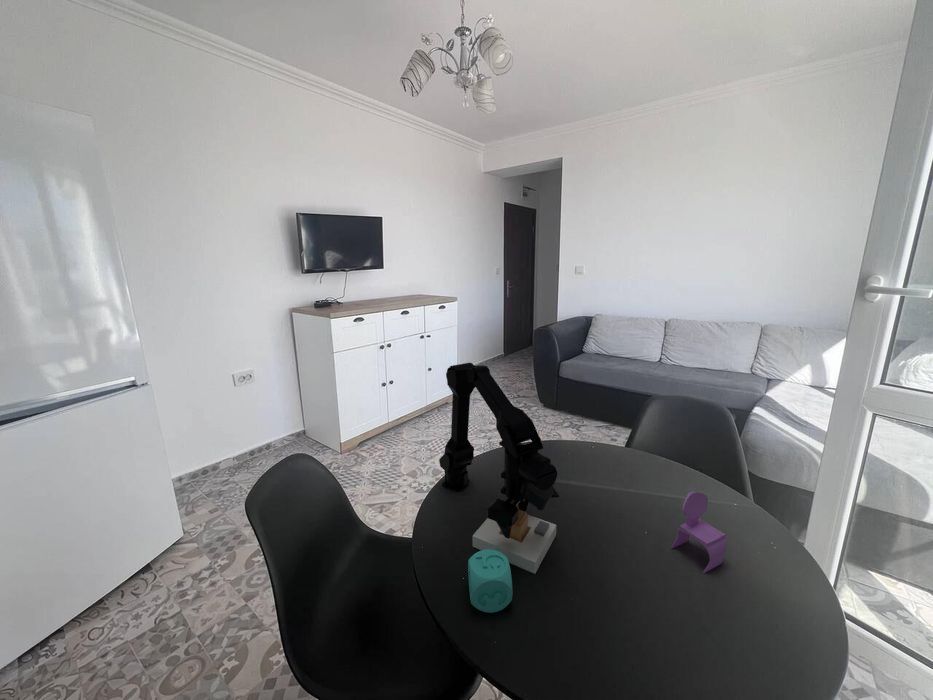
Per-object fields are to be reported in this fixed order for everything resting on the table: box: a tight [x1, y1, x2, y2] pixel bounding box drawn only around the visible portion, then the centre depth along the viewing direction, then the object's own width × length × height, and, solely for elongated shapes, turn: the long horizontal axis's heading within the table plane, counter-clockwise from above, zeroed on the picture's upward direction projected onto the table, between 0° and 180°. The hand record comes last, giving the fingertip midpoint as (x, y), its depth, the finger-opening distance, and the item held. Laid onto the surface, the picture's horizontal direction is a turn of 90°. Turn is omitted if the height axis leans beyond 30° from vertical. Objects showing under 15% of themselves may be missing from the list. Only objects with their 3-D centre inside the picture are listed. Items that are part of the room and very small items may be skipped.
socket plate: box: [472, 514, 558, 575], centre depth 92 cm, size 16×14×4 cm
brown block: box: [510, 508, 529, 543], centre depth 92 cm, size 5×5×7 cm
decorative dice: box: [467, 549, 513, 614], centre depth 77 cm, size 8×8×8 cm
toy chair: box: [670, 491, 727, 574], centre depth 85 cm, size 8×9×15 cm
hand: (515, 526), depth 92 cm, fingers open, 9 cm apart
